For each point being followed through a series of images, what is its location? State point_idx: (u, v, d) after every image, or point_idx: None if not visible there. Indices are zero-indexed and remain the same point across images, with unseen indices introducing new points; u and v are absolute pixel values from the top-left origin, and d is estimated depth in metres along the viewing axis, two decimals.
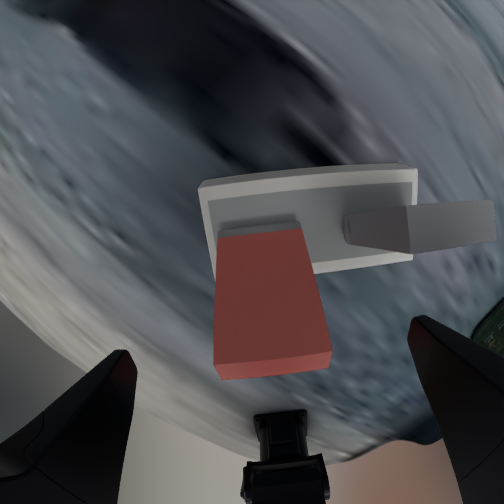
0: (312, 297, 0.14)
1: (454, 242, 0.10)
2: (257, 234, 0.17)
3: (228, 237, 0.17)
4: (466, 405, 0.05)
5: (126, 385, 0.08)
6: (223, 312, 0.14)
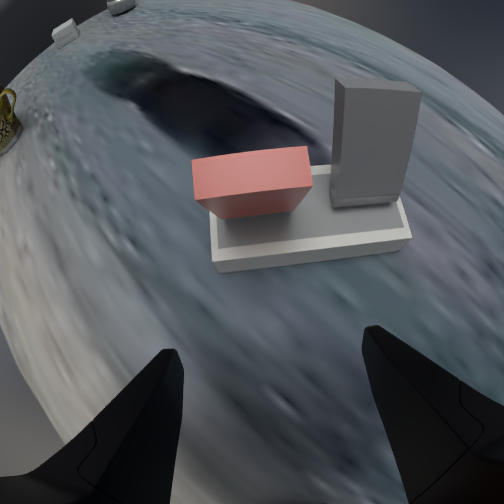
0: None
1: (380, 87, 0.13)
2: None
3: None
4: (413, 426, 0.05)
5: (176, 386, 0.08)
6: None
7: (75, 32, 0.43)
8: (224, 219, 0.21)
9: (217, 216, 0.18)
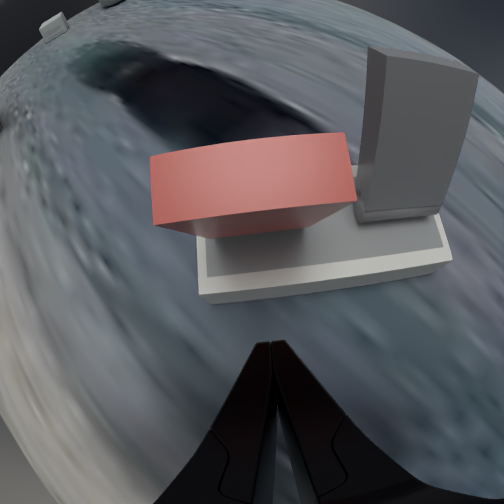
0: None
1: (430, 61, 0.08)
2: None
3: None
4: (294, 453, 0.05)
5: (274, 380, 0.07)
6: None
7: (64, 26, 0.38)
8: (214, 238, 0.15)
9: None
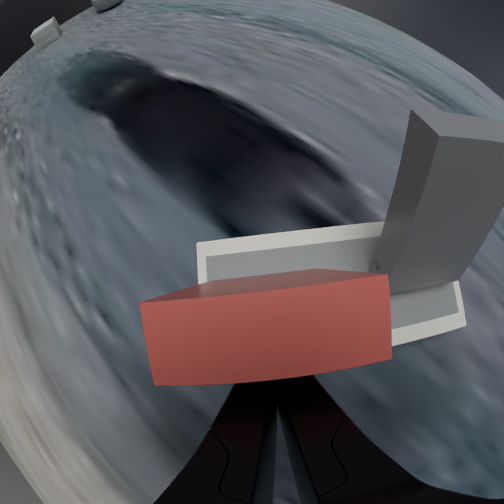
0: (336, 272, 0.08)
1: (484, 136, 0.07)
2: (261, 275, 0.13)
3: (224, 279, 0.14)
4: (294, 453, 0.05)
5: (275, 380, 0.07)
6: (191, 290, 0.08)
7: (56, 32, 0.36)
8: None
9: None
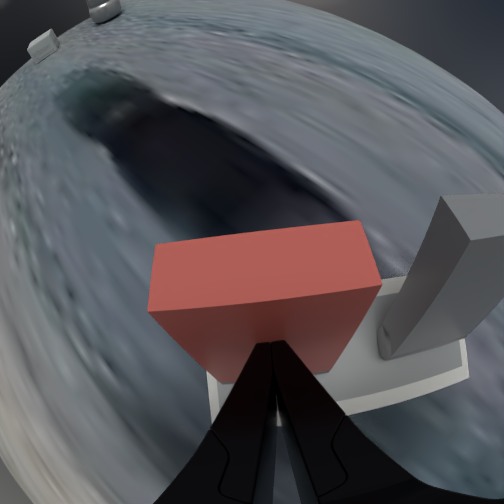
0: None
1: None
2: None
3: None
4: (294, 453, 0.05)
5: (274, 380, 0.07)
6: None
7: (53, 45, 0.37)
8: (225, 383, 0.13)
9: (212, 374, 0.11)
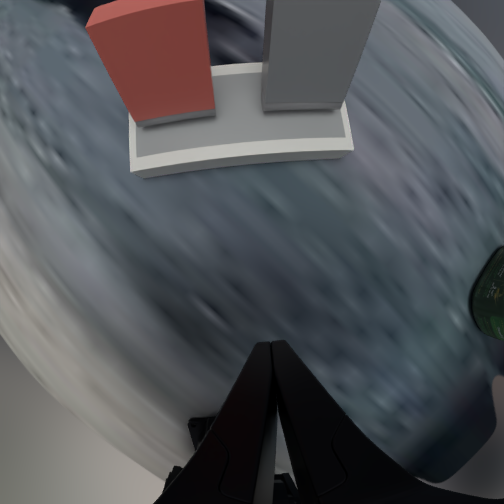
0: None
1: None
2: None
3: None
4: (294, 453, 0.05)
5: (274, 380, 0.07)
6: None
7: None
8: (139, 124, 0.16)
9: (126, 105, 0.14)
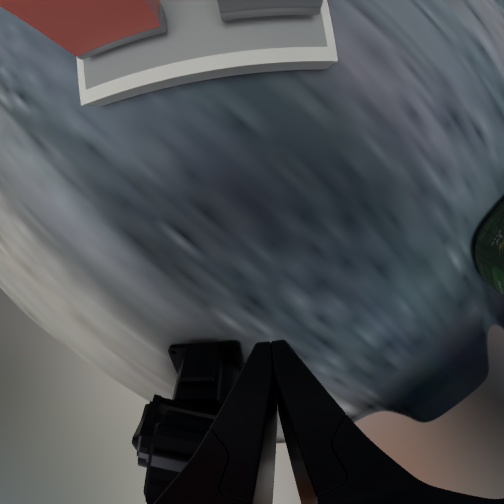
0: None
1: None
2: None
3: None
4: (294, 453, 0.05)
5: (274, 380, 0.07)
6: None
7: None
8: (81, 57, 0.11)
9: (59, 44, 0.09)
